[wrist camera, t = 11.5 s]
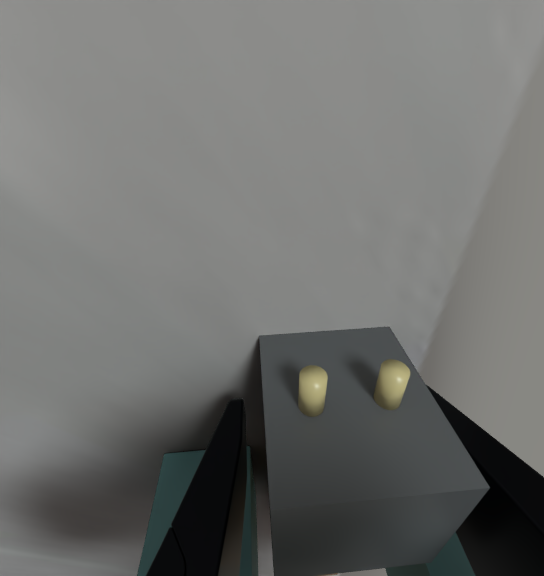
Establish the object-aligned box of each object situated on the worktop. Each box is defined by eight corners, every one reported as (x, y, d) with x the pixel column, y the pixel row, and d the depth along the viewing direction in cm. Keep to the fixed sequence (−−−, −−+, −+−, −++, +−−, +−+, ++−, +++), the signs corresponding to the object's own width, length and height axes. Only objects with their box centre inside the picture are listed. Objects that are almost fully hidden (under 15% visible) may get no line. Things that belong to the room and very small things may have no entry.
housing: (427, 479, 15) (532, 699, 10) (185, 504, 14) (149, 754, 9) (455, 427, 13) (617, 683, 7) (164, 453, 12) (96, 756, 6)
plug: (343, 510, 16) (373, 635, 13) (270, 517, 16) (278, 647, 12) (396, 300, 9) (512, 458, 5) (257, 308, 8) (268, 481, 5)
